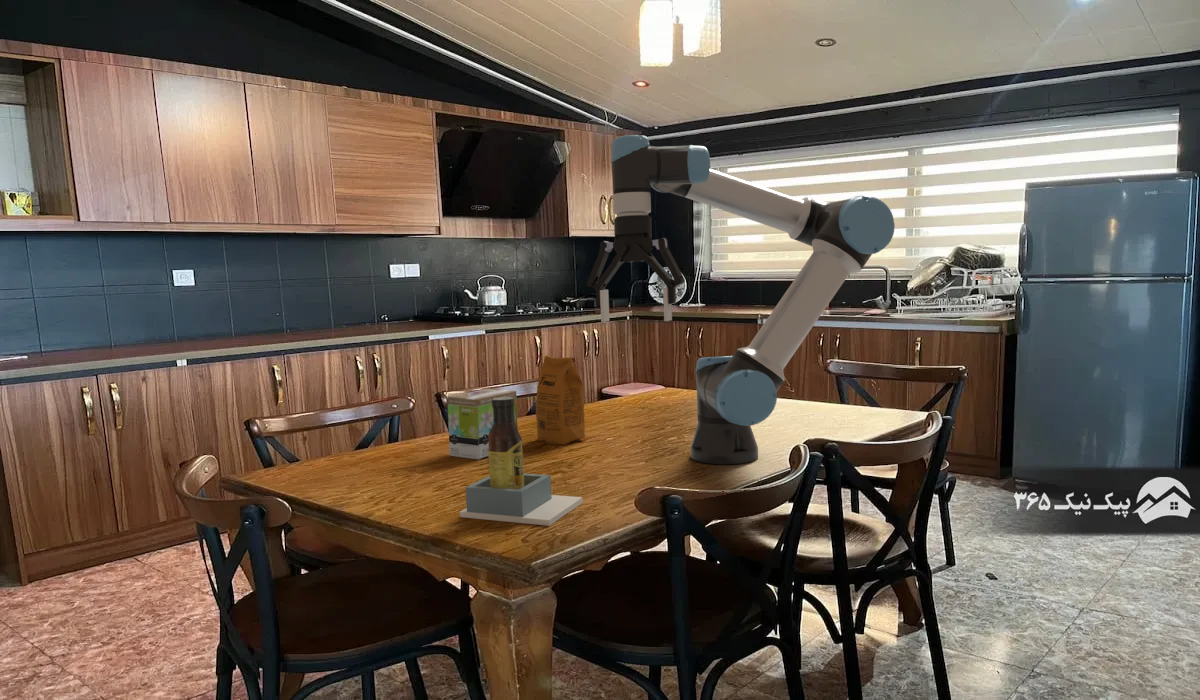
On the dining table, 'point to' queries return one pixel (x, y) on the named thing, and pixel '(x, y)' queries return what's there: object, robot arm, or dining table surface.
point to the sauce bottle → (505, 447)
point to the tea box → (473, 421)
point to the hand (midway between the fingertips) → (636, 321)
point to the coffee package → (559, 402)
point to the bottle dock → (518, 502)
